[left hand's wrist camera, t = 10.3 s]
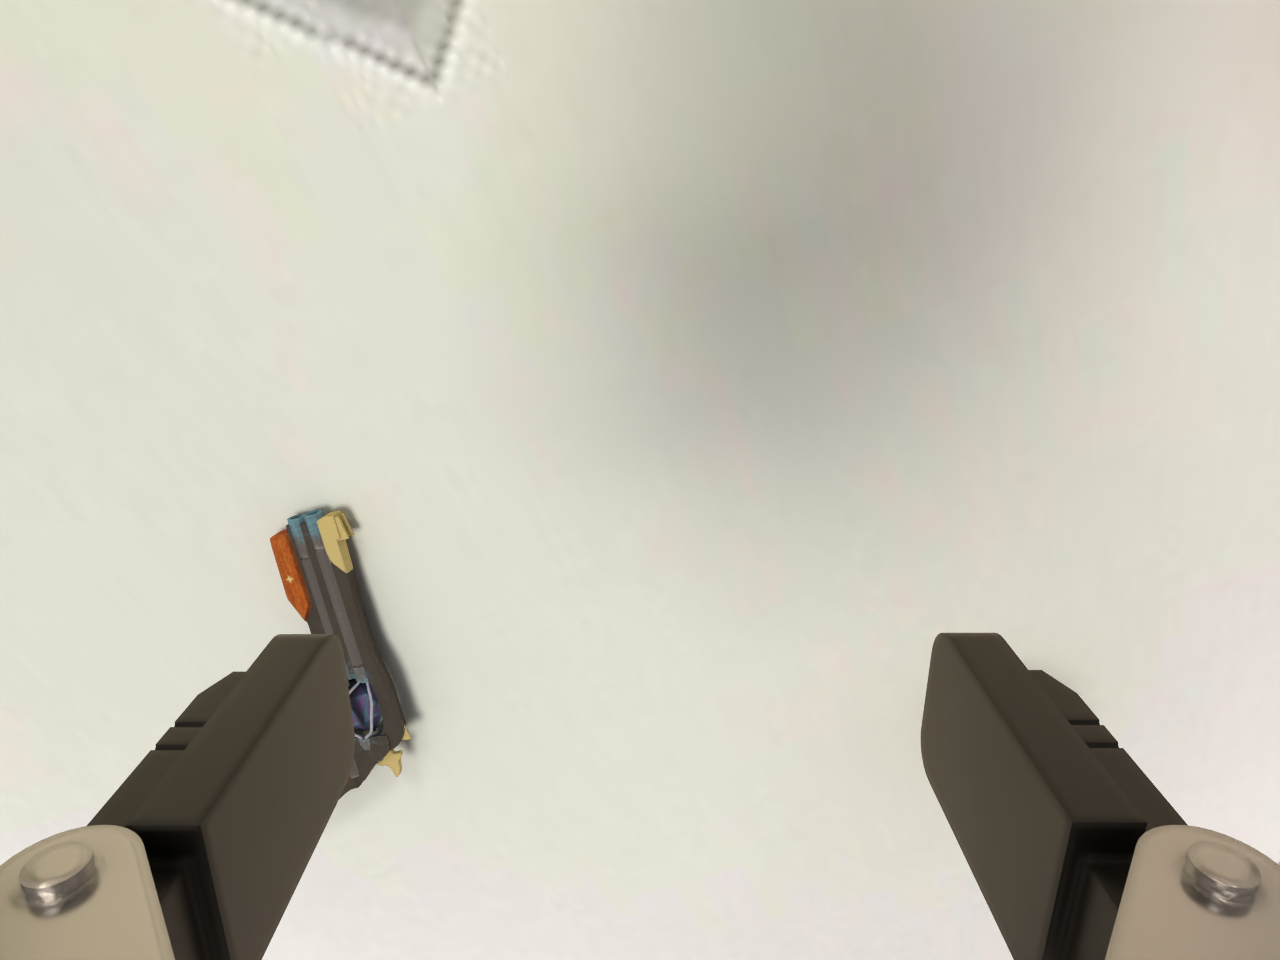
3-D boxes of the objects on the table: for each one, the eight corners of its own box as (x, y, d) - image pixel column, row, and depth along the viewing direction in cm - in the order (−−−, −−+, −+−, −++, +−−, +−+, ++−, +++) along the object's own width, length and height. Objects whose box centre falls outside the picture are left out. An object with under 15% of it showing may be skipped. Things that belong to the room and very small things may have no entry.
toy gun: (269, 842, 49) (427, 830, 48) (158, 542, 44) (330, 516, 42) (293, 811, 52) (444, 798, 50) (191, 524, 47) (354, 499, 45)
